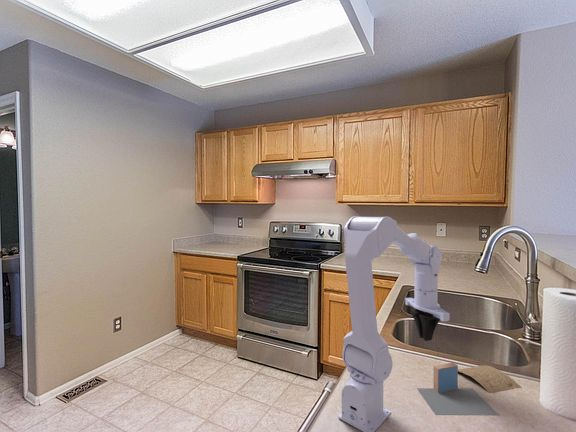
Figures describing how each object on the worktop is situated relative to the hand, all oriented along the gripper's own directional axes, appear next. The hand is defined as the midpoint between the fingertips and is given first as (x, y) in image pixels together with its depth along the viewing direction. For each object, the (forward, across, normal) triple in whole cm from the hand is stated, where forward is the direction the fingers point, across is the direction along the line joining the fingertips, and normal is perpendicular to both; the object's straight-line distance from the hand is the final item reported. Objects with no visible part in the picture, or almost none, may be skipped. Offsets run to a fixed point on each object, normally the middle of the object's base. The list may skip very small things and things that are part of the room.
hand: (425, 338), depth 83 cm
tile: (+10, -7, 0) cm, 12 cm away
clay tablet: (+11, -6, -14) cm, 19 cm away
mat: (+10, -11, +1) cm, 15 cm away
